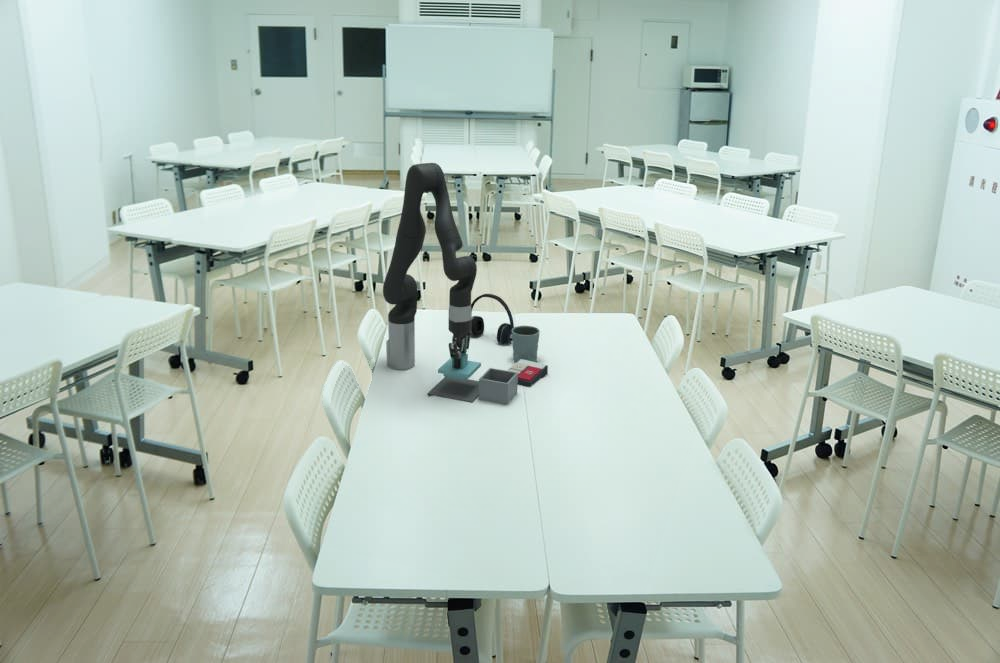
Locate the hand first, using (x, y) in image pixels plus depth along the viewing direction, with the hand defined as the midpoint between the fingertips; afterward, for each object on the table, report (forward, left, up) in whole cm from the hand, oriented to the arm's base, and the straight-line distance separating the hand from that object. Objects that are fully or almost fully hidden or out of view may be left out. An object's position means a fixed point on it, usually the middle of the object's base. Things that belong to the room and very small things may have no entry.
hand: (459, 365), depth 281 cm
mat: (0, 0, -9) cm, 9 cm away
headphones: (-7, +49, -10) cm, 50 cm away
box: (+14, 0, -9) cm, 17 cm away
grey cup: (+12, +34, -10) cm, 37 cm away
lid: (0, 0, -3) cm, 3 cm away
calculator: (+17, +19, -10) cm, 28 cm away
